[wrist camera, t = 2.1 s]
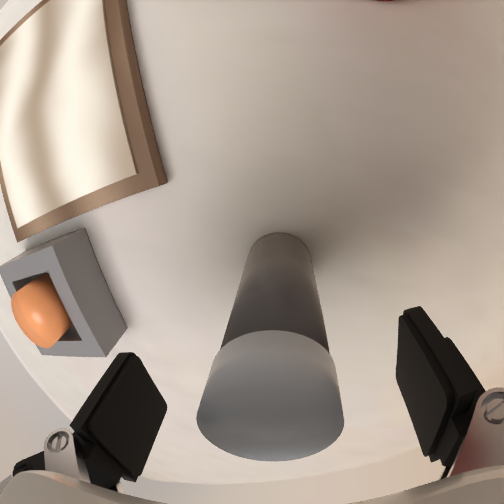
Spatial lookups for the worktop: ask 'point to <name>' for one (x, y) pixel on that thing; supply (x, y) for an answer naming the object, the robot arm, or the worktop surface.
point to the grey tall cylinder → (273, 362)
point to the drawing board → (72, 114)
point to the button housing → (72, 293)
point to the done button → (40, 311)
